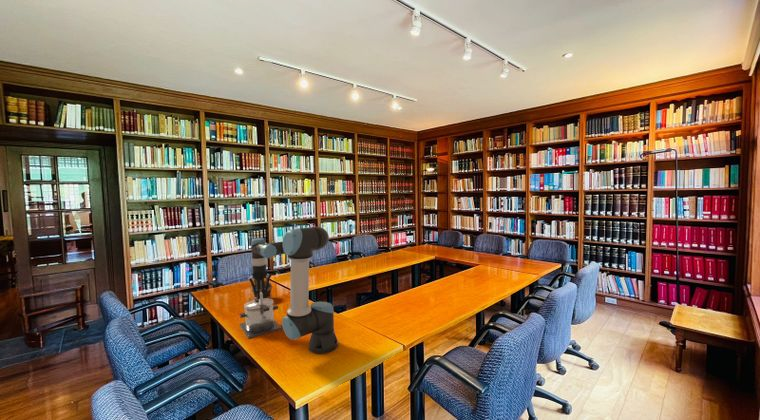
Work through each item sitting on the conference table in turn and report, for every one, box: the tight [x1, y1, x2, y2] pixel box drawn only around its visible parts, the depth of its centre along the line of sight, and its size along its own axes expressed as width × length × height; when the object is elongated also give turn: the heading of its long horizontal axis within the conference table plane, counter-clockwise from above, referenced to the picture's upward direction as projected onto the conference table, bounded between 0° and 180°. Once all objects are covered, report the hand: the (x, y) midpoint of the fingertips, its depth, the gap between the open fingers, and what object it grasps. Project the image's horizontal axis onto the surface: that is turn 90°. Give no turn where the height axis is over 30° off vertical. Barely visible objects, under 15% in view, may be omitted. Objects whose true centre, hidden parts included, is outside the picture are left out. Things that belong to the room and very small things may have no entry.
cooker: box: [238, 303, 283, 340], centre depth 188 cm, size 22×22×14 cm
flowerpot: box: [251, 278, 273, 300], centre depth 236 cm, size 14×15×20 cm
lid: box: [243, 297, 274, 312], centre depth 184 cm, size 24×17×4 cm
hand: (261, 303), depth 183 cm, fingers closed
